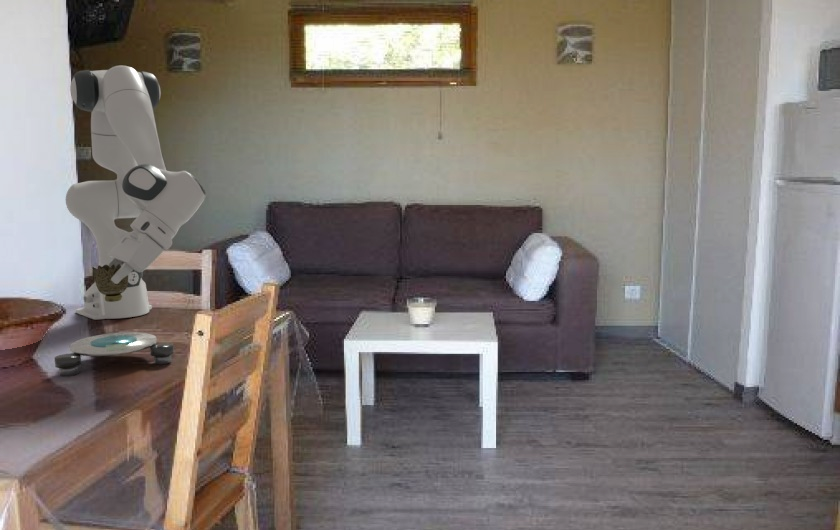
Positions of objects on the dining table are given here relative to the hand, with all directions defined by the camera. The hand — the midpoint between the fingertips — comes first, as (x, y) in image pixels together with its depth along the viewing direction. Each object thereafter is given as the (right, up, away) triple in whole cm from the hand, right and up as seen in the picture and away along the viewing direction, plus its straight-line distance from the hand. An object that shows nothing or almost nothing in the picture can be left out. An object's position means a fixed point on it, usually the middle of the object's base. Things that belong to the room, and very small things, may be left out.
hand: (108, 279), depth 164 cm
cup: (+1, -5, +1) cm, 5 cm away
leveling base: (-1, -19, +1) cm, 19 cm away
